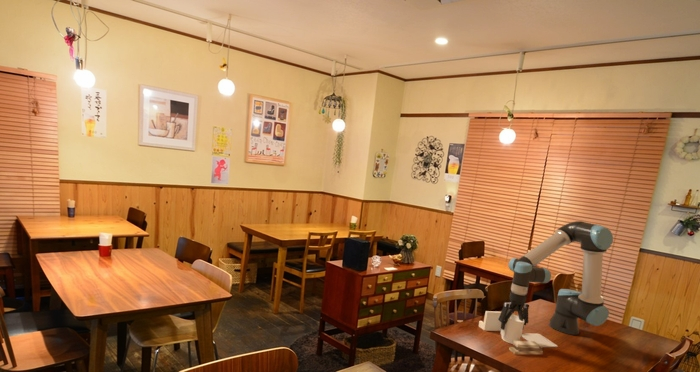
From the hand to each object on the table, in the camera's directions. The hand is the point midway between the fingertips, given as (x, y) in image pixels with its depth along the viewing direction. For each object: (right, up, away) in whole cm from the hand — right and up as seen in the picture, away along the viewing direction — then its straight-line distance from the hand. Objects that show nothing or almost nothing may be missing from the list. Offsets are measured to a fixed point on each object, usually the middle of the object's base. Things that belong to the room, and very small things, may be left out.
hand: (510, 335), depth 186 cm
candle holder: (0, -3, 0) cm, 3 cm away
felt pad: (+16, -5, +5) cm, 18 cm away
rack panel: (-4, -1, +12) cm, 13 cm away
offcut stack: (+3, -4, -10) cm, 11 cm away
